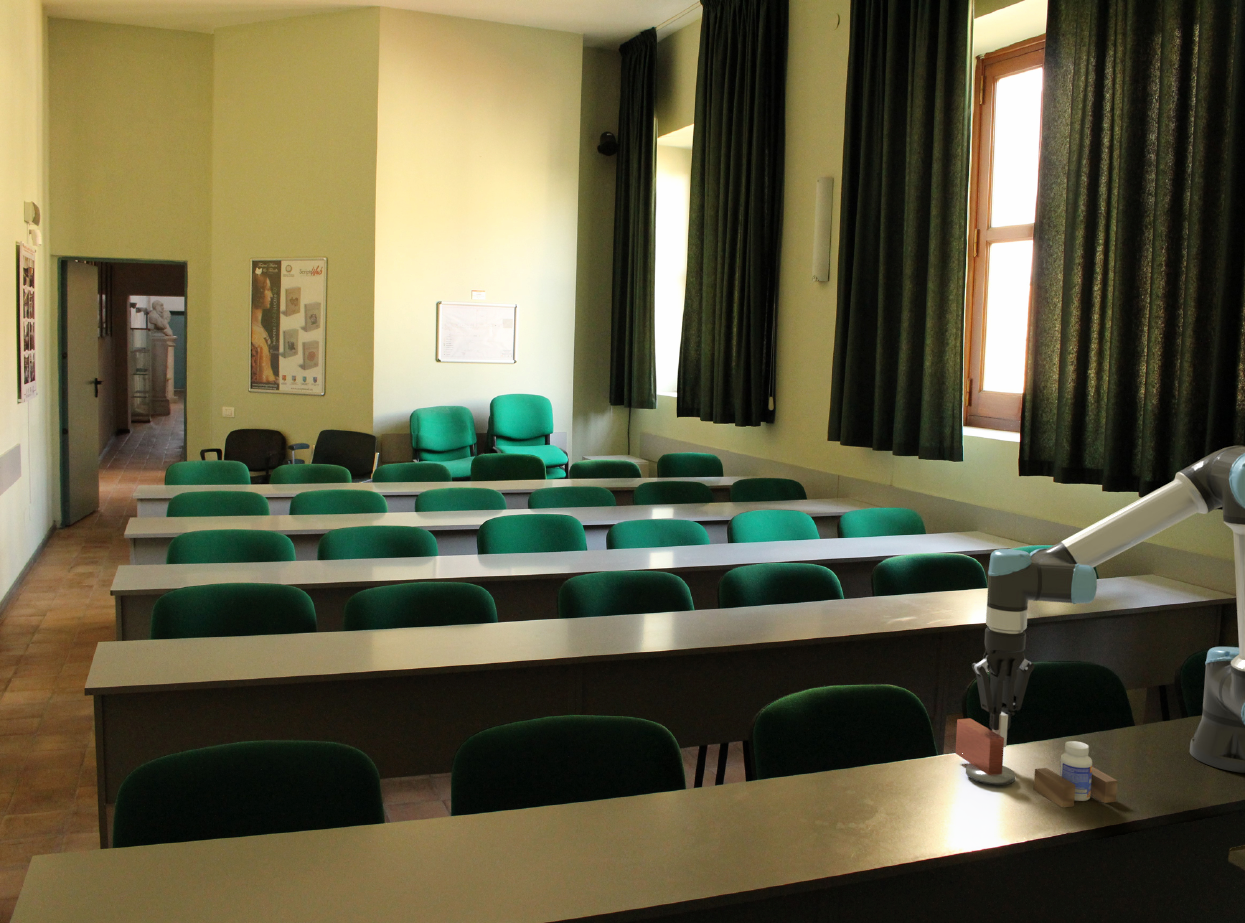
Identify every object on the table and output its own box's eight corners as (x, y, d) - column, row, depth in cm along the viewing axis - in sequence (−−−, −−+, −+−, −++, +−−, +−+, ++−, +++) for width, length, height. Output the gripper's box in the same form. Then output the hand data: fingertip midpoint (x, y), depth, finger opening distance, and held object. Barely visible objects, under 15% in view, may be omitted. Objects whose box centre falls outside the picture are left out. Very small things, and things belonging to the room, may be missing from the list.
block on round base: (981, 754, 208) (983, 717, 207) (1025, 782, 194) (1027, 742, 193) (942, 758, 205) (943, 720, 205) (983, 786, 192) (985, 746, 191)
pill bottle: (1095, 802, 188) (1098, 750, 187) (1065, 801, 188) (1068, 749, 187) (1082, 789, 193) (1086, 739, 192) (1053, 789, 193) (1056, 738, 192)
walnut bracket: (1085, 784, 196) (1087, 763, 196) (1115, 801, 188) (1117, 780, 188) (1033, 789, 193) (1034, 768, 193) (1062, 807, 185) (1063, 786, 185)
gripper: (1022, 622, 207) (1015, 735, 210) (965, 625, 204) (958, 740, 206) (1046, 631, 200) (1039, 749, 202) (988, 635, 197) (981, 754, 199)
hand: (998, 744), depth 204 cm, fingers closed
